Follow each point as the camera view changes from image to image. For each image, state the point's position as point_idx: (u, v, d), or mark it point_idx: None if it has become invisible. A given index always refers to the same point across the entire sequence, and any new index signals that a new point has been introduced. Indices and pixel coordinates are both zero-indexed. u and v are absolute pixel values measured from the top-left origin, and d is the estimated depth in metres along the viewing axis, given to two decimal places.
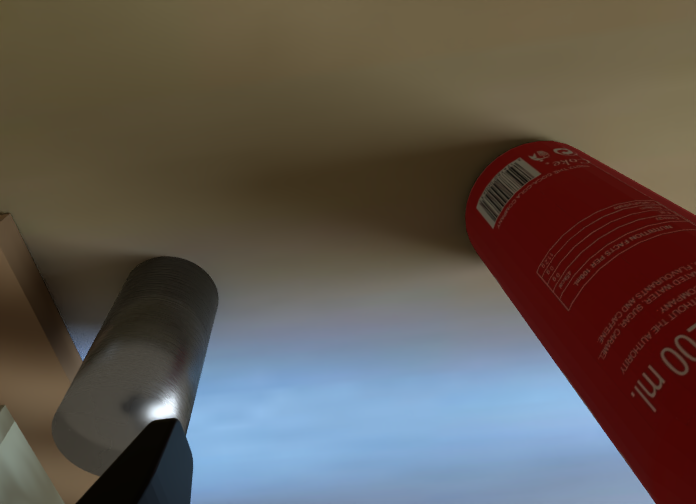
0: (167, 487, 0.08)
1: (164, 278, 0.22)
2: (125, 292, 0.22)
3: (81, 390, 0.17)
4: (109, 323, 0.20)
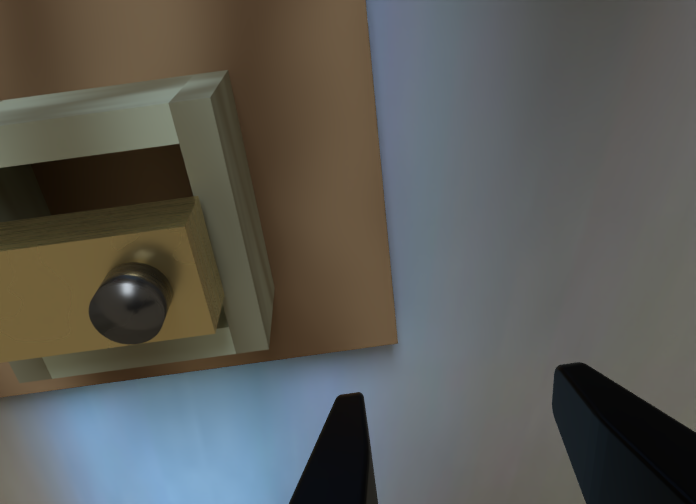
0: None
1: None
2: None
3: None
4: None
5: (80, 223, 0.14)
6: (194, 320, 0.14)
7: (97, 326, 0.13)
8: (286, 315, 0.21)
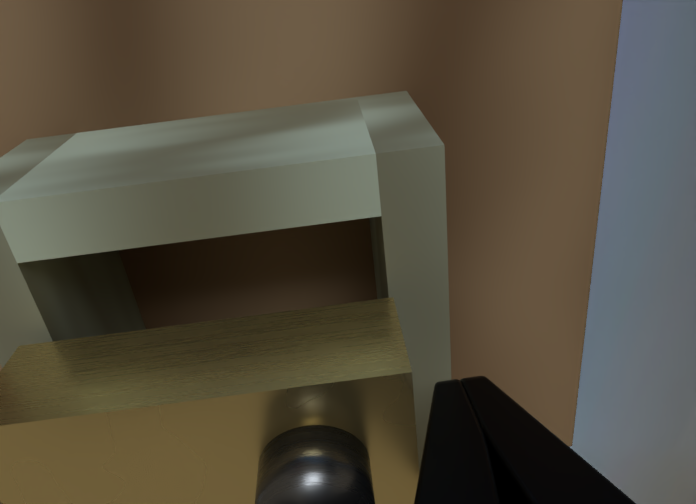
0: None
1: None
2: None
3: None
4: None
5: (216, 350, 0.08)
6: (394, 502, 0.09)
7: None
8: None
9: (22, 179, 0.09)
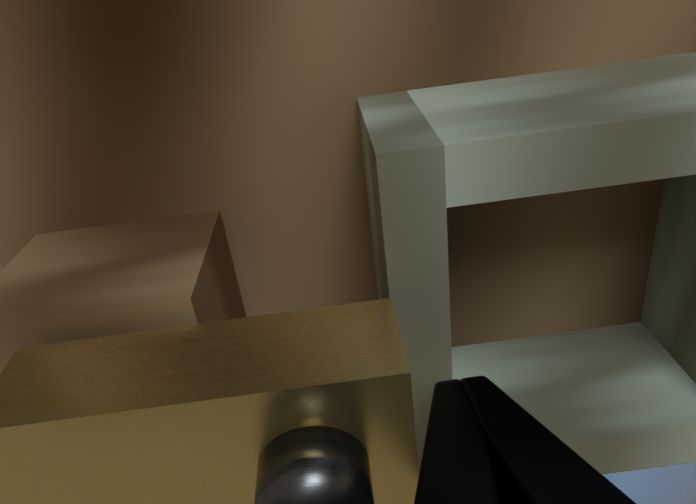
0: None
1: None
2: None
3: None
4: None
5: (215, 351, 0.08)
6: (394, 503, 0.09)
7: None
8: None
9: (433, 125, 0.09)
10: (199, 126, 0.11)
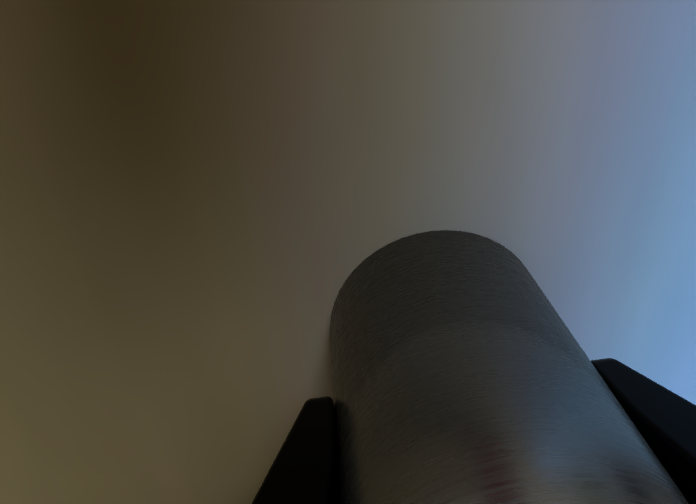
0: None
1: (334, 381, 0.09)
2: None
3: None
4: None
5: None
6: None
7: None
8: None
9: None
10: None
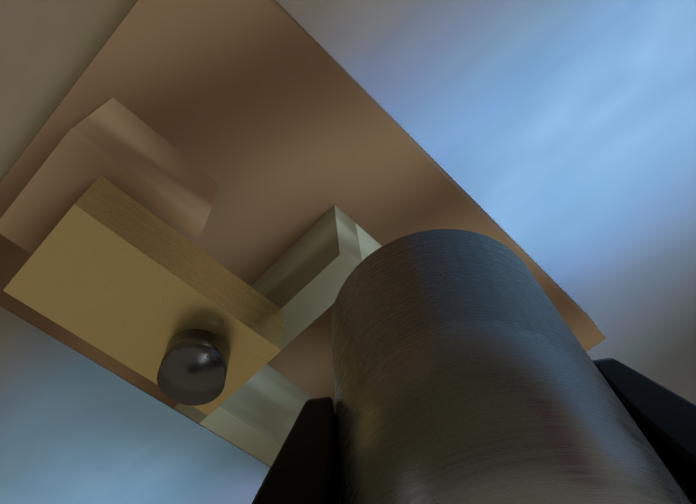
0: None
1: (335, 378, 0.09)
2: None
3: None
4: None
5: (202, 268, 0.14)
6: None
7: (162, 370, 0.13)
8: None
9: (362, 259, 0.17)
10: (257, 143, 0.18)
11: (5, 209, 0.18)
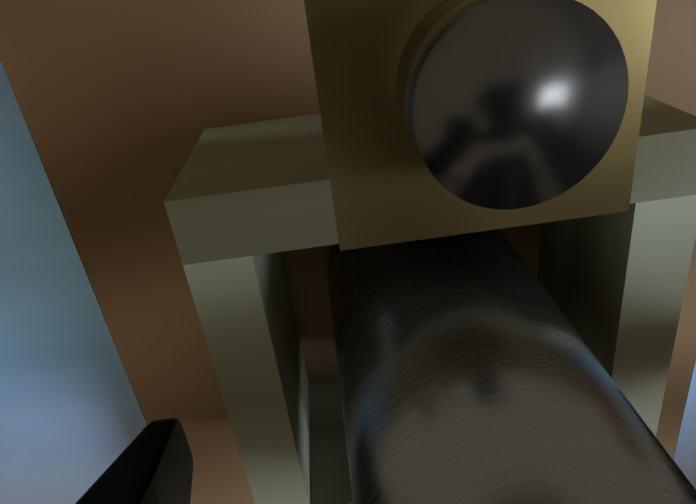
0: (167, 487, 0.08)
1: (333, 315, 0.11)
2: None
3: None
4: None
5: None
6: (381, 208, 0.06)
7: (499, 13, 0.04)
8: (230, 432, 0.14)
9: None
10: None
11: None
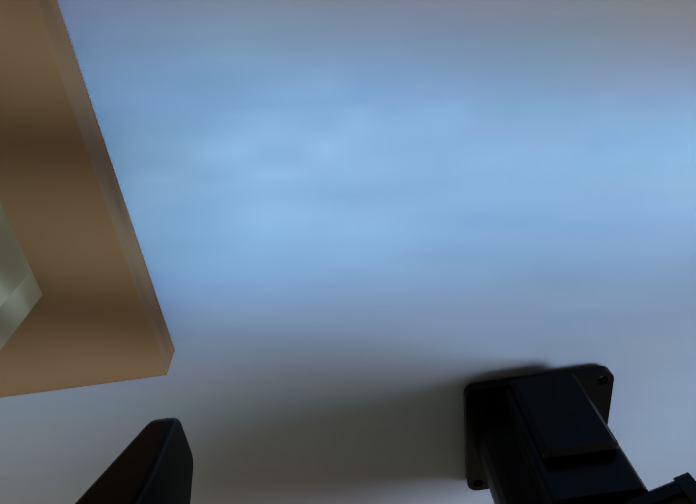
0: (167, 487, 0.08)
1: None
2: None
3: None
4: None
5: None
6: None
7: None
8: None
9: None
10: None
11: None
